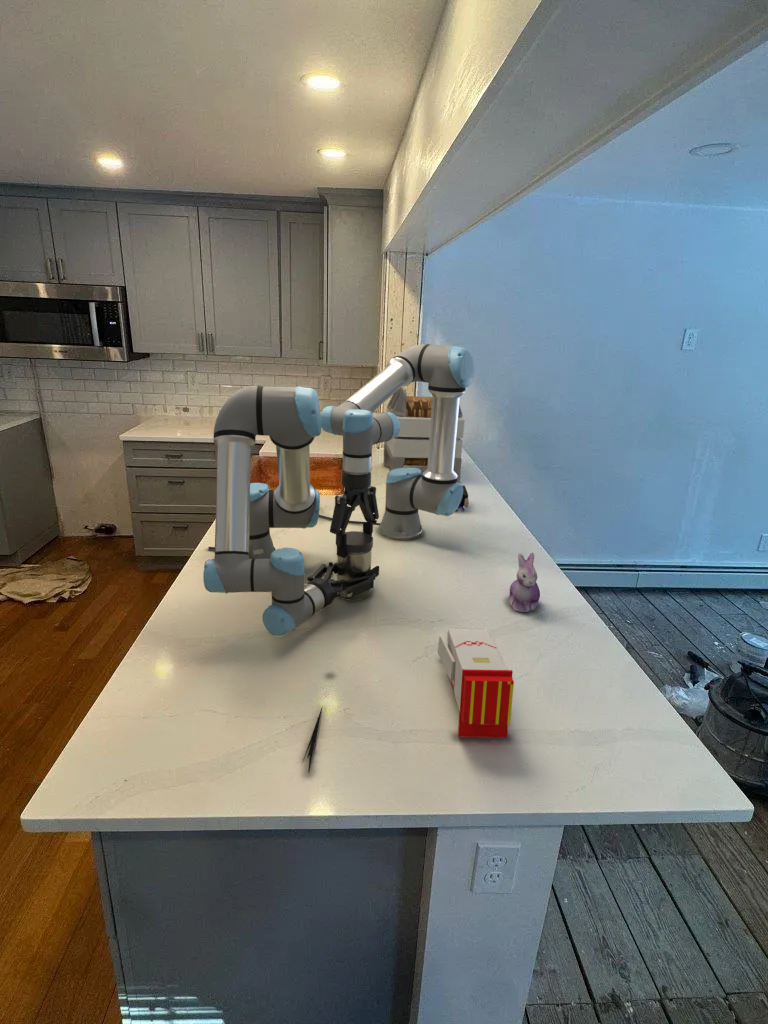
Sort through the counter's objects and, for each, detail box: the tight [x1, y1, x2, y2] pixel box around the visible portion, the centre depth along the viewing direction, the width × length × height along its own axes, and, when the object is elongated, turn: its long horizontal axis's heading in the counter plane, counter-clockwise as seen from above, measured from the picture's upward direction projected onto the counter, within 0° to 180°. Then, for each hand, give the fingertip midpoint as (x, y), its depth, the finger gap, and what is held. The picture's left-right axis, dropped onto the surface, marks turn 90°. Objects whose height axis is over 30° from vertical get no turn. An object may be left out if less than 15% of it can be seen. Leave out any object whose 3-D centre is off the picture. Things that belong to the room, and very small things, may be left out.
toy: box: [437, 628, 515, 738], centre depth 117 cm, size 12×13×30 cm
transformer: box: [383, 387, 465, 483], centre depth 268 cm, size 34×33×41 cm
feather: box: [301, 673, 332, 771], centre depth 108 cm, size 2×28×2 cm
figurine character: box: [455, 484, 470, 512], centre depth 229 cm, size 7×8×15 cm
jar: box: [336, 548, 373, 601], centre depth 155 cm, size 9×9×16 cm
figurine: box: [508, 552, 541, 613], centre depth 152 cm, size 9×10×15 cm
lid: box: [335, 530, 374, 553], centre depth 153 cm, size 10×10×2 cm
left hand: (362, 565), depth 159 cm, fingers closed on jar, 9 cm apart
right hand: (354, 550), depth 153 cm, fingers closed on lid, 10 cm apart
